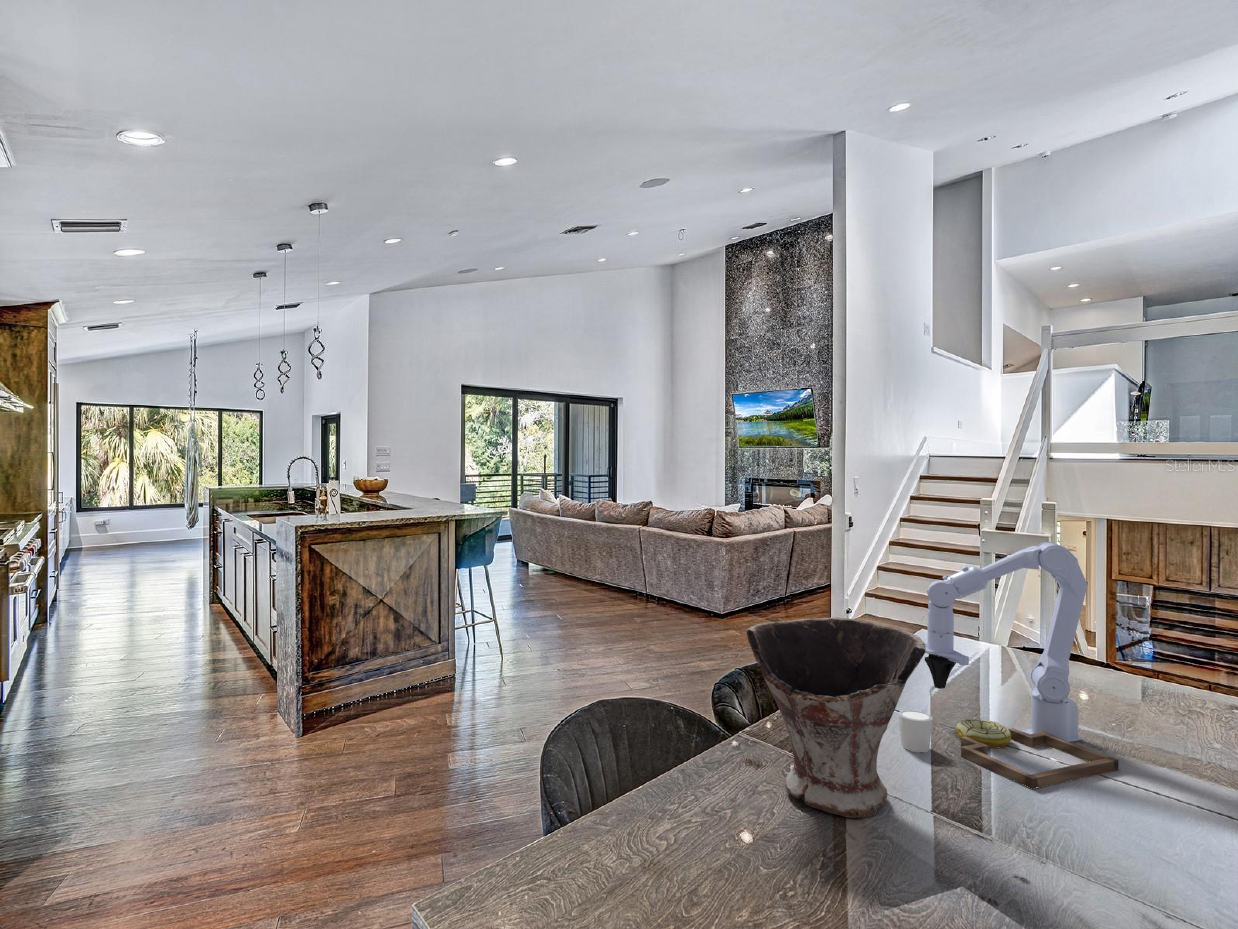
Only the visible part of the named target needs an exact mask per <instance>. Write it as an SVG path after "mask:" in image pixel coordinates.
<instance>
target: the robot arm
mask: <svg viewBox="0 0 1238 929" xmlns="http://www.w3.org/2000/svg"><path fill="white" fill-rule="evenodd" d="M1040 567H1041V568H1042V569H1043V570H1045V571H1047V572H1048V573H1049V574H1050V576H1051V577H1052V578H1053V579H1054V580H1055V582H1056V584H1058V585H1059V589H1058V593H1057V597H1056V601H1055V605H1054V608H1053V614H1052V618H1051V621H1050V625H1049V629H1048V633H1047V636H1046V637H1047V638H1046V642H1045V644H1044V649H1043V652H1042V653H1041V654H1040V656H1039V660H1038V662H1037V664H1036V665H1035V666H1034V667H1033V668H1032V669H1031V671H1030V679H1031V682H1032V683H1033V685H1034V686H1035V687H1034V689H1033V690H1032V691H1031V694H1030V695H1031V696H1030V699H1031V700H1030V728H1028V729H1023V730H1021V732H1024V733H1027V734H1034V733H1040V732H1045V733H1047V734H1050V735H1053V736H1055V737H1058V738H1061V739H1063V740H1066V741H1069V742H1071V743H1073V742H1076V741H1078V742H1079V741H1082V740H1083V737H1081V736H1079V719H1080V718H1079V717H1080V716H1079V708H1078V705H1077V704H1076V702H1075V701H1074V700H1073V699H1072V698H1070V697H1069V695H1070V692H1071V685H1070V683H1069V676H1070V664H1069V662H1070V657H1071V652H1072V649H1073V644H1074V640H1075V638H1076V633H1077V629H1078V627H1079V626H1078V625H1079V621H1080V617H1081V612H1082V610H1083V606H1084V601H1085V597H1086V594H1087V589H1088V582H1087V580H1086V578H1085V576H1084V574H1083V571H1082V569H1081V566H1080V564H1079V559H1078V557H1076V556H1075V555H1074V554H1073V553H1072V552H1071V551H1070V550H1069V549H1068V548H1067V547H1065V546H1062V545H1059V544H1058V543H1055V542H1051V541H1044V542H1041V543H1039V544H1038V545H1032V546H1027V547H1026V548H1023V549H1020V550H1018V551H1016V552H1014V553H1012V554H1010V555H1008V556H1005V557H1002V558H1001V559H999V560H996V561H995V562H993V563H990V564H988V565H986V566H984V567H982V568H979V567H975V566H969V567H968V566H967V565H966V566H963V567H961V570H960V571H958V572H955V573H953V574H951V575H949V576H947V575H943V576H942V579H943V580H940V579H938V580H937V579H936V580H934V581H933V582H931V583H930V584H929V585H928V588H927V590H926V593H927V597H928V599H929V601H928V604H927V607H928V610H927V642H926V643H925V648H926V652H925V654H928V656H925V657H924V661H925V663H926V665H927V668H928V669H929V671H930V674H931V677H932V682H933V685H934V688H935V689H938V690H939V689H940V690H941V689H946V686H947V683H948V679H949V678H950V674H951V672H952V671H953V669H954V667H955V666H956V664H959V666H962V667H963V666H969V665H970V660H969V659H970V658H969V656H968V655H965V654H963V653H960V652H959V651H956V650H954V645H955V644H954V642H955V641H954V638H955V636H954V630H955V626H954V625H955V624H954V623H955V622H954V621H955V616H954V615H955V613H954V611H953V610H954V608H953V607H954V605H953V604H954V603H955V601H956V600H961V599H964V598H967V597H969V596H971V595H973V594H976V593H978V592H980V591H984V590H985V589H986V588H987V587H988V586H987V585H988V583H989V582H990V581H993V580H995V579H997V578H1000V577H1002V576H1006V575H1008V574H1011V573H1013V572H1016V571H1019V570H1021V569H1029V570H1037V571H1038V570H1040Z"/></svg>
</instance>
